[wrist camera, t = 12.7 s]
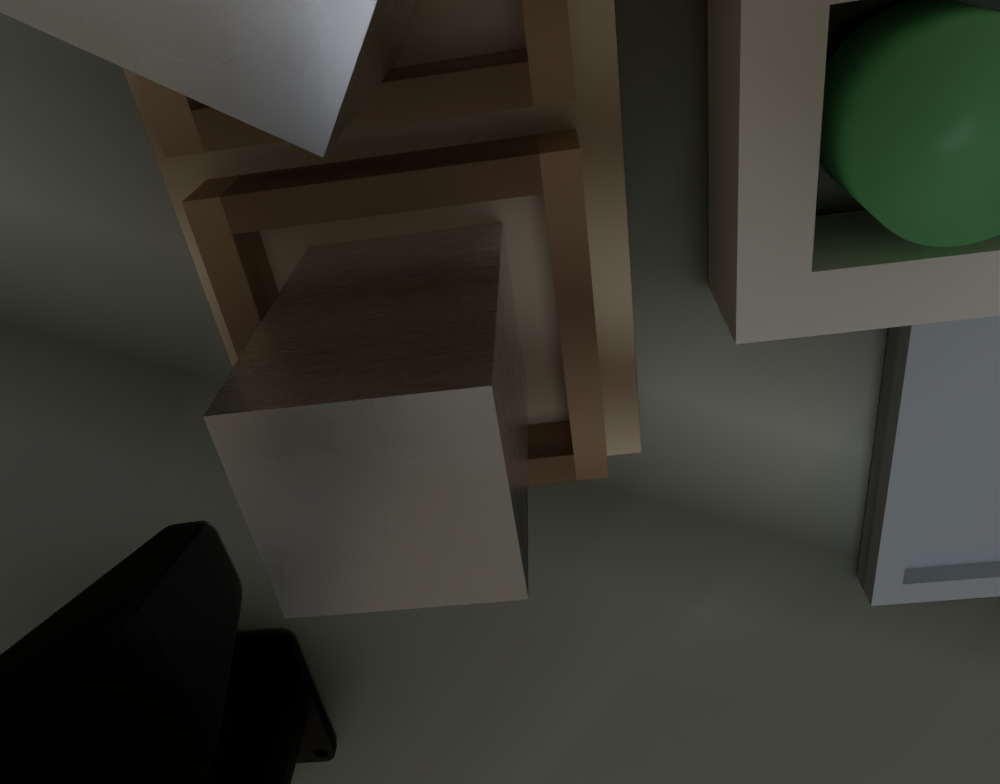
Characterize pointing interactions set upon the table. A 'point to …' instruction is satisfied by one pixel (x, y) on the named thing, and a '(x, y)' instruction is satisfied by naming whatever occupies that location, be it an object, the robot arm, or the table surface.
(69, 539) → the table surface
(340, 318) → the block
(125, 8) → the block
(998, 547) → the tray
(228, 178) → the pallet board
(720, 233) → the button console
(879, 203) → the button
